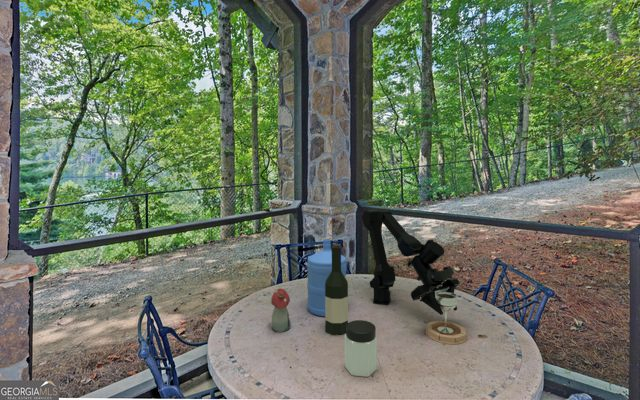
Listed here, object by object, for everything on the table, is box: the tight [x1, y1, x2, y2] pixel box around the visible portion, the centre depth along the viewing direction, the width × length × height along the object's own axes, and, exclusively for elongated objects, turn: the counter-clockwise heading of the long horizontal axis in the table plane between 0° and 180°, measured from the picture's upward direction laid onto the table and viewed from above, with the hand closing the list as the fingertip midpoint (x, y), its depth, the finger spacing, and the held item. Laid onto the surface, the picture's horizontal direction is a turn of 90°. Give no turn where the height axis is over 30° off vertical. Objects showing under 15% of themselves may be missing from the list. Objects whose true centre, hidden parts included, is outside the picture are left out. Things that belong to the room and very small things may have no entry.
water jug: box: [306, 239, 348, 317], centre depth 130 cm, size 16×16×28 cm
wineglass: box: [435, 290, 458, 333], centre depth 109 cm, size 7×7×12 cm
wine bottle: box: [324, 243, 349, 336], centre depth 112 cm, size 8×8×30 cm
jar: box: [344, 319, 378, 378], centre depth 90 cm, size 9×8×12 cm
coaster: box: [425, 320, 468, 345], centre depth 109 cm, size 13×13×2 cm
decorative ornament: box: [270, 288, 291, 333], centre depth 115 cm, size 9×6×15 cm
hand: (449, 312), depth 108 cm, fingers closed on wineglass, 6 cm apart
